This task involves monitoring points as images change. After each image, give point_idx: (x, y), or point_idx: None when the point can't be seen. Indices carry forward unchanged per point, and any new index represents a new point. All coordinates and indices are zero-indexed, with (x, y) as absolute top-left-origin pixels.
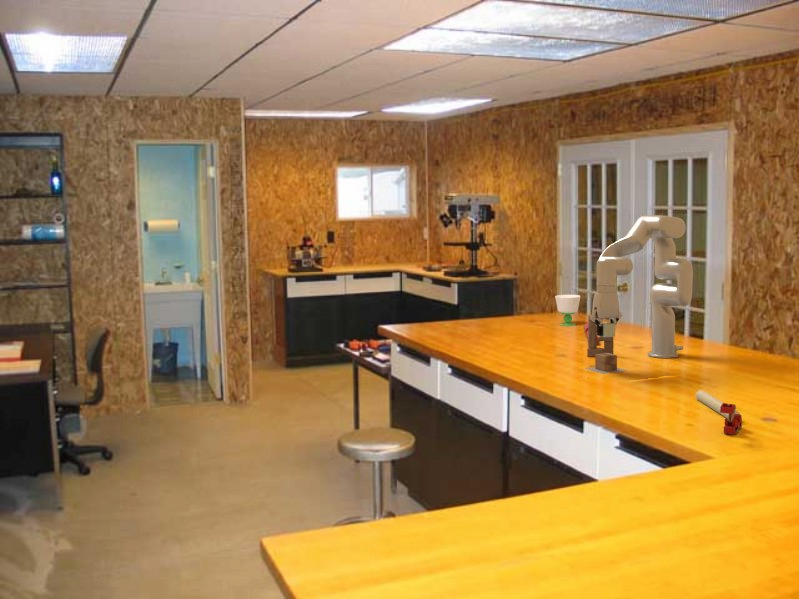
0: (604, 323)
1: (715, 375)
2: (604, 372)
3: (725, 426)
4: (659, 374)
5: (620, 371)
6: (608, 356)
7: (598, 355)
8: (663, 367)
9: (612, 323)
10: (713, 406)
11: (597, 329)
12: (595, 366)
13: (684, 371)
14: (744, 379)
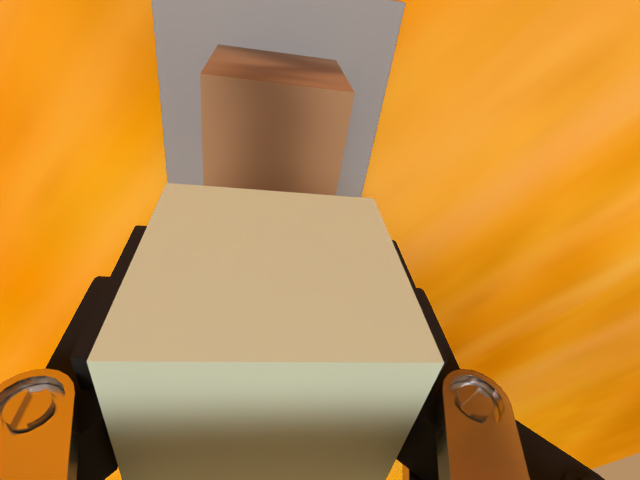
0: (240, 439)
1: (549, 383)
2: (201, 176)
3: None
4: (433, 299)
5: None
6: None
7: (202, 126)
8: (604, 207)
9: (373, 476)
10: None
11: (74, 339)
12: (215, 50)
13: (560, 306)
14: (539, 434)
